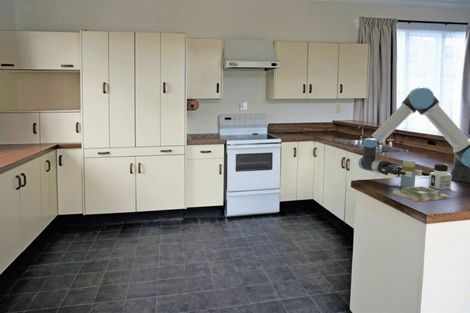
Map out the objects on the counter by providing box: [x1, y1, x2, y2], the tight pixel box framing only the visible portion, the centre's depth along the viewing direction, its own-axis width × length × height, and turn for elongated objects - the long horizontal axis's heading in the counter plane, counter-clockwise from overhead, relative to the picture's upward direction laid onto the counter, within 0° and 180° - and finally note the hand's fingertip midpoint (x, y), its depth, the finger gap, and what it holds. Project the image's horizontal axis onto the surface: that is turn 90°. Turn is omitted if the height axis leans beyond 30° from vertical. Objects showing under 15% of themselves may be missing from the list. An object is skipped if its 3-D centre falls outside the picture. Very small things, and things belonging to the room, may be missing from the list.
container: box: [428, 162, 452, 190], centre depth 205 cm, size 8×8×13 cm
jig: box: [392, 185, 451, 203], centre depth 187 cm, size 20×16×3 cm
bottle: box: [399, 159, 417, 189], centre depth 203 cm, size 7×7×15 cm
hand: (416, 174), depth 199 cm, fingers closed on bottle, 7 cm apart
